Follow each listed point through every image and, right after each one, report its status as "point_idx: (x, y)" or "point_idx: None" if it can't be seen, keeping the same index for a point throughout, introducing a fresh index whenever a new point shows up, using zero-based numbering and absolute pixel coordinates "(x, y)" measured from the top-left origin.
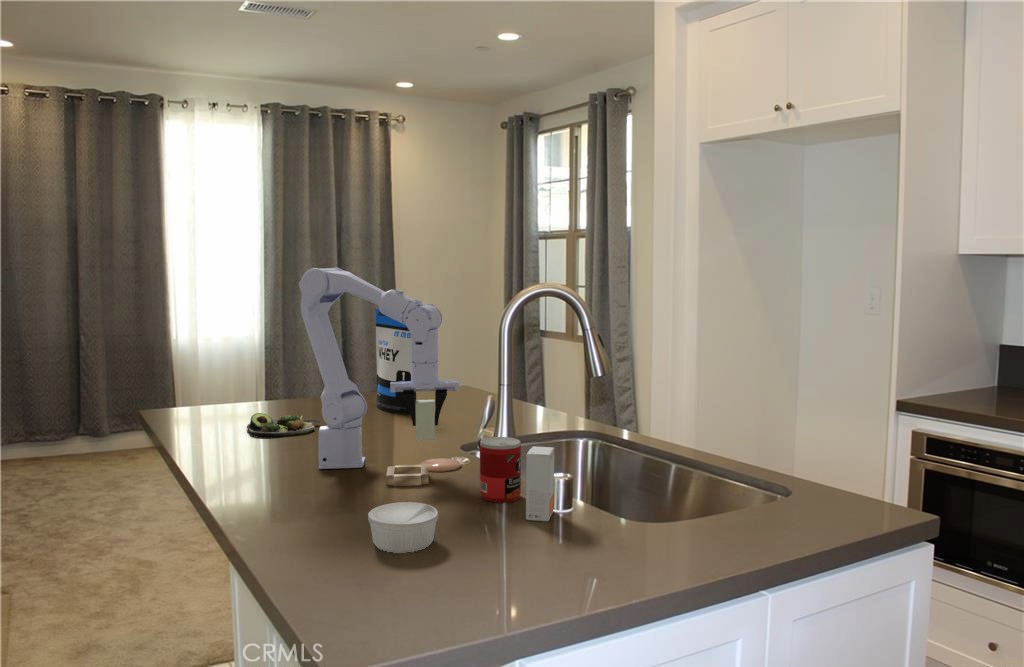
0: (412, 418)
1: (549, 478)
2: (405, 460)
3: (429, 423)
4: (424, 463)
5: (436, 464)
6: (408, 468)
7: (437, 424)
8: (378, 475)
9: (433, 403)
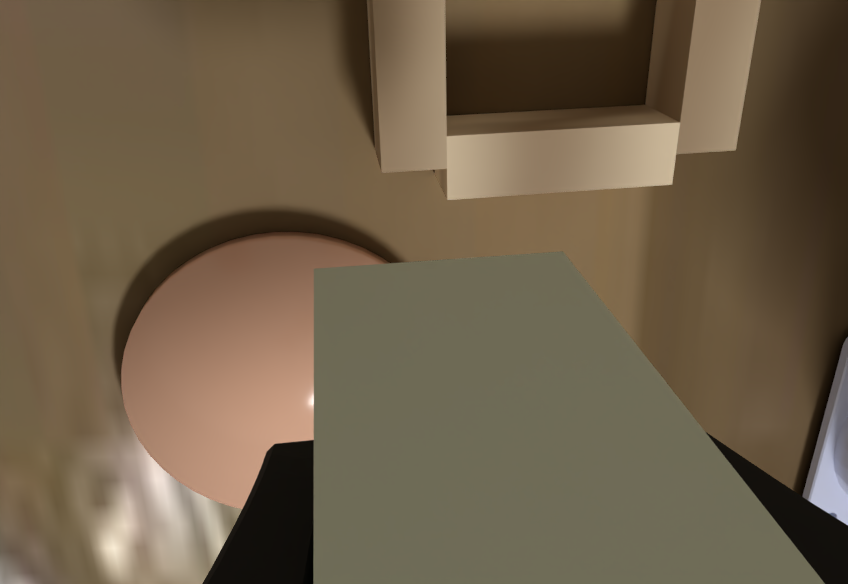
0: (747, 467)
1: None
2: None
3: (413, 393)
4: None
5: None
6: (556, 125)
7: (273, 452)
8: (762, 150)
9: None
